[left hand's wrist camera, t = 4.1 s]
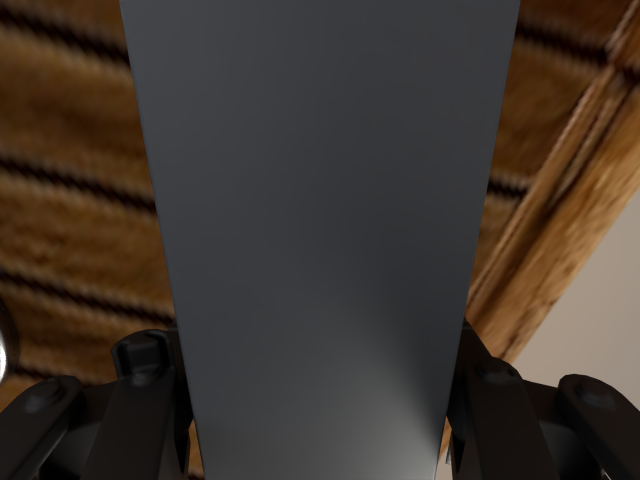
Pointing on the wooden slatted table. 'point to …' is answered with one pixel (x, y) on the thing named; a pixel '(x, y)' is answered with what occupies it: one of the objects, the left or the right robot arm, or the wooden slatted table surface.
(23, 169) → the wooden slatted table surface
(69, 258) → the wooden slatted table surface
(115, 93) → the wooden slatted table surface
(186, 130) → the bar
